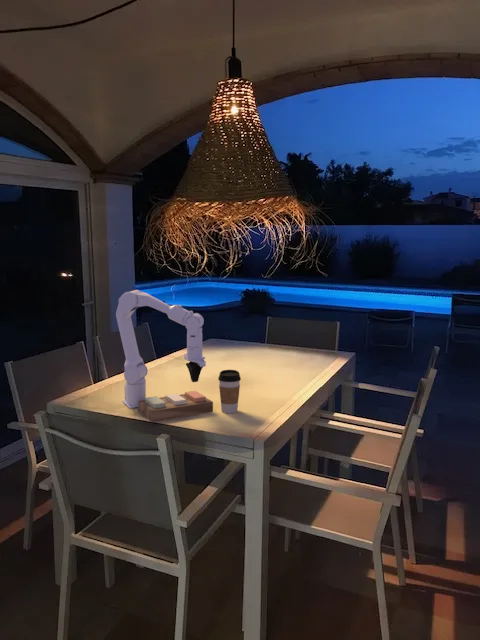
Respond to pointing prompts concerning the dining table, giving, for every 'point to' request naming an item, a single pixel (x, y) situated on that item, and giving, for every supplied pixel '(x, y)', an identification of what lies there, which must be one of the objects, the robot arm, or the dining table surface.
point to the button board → (174, 409)
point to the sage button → (155, 402)
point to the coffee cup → (229, 390)
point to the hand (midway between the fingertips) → (194, 381)
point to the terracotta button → (195, 396)
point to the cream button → (175, 399)
